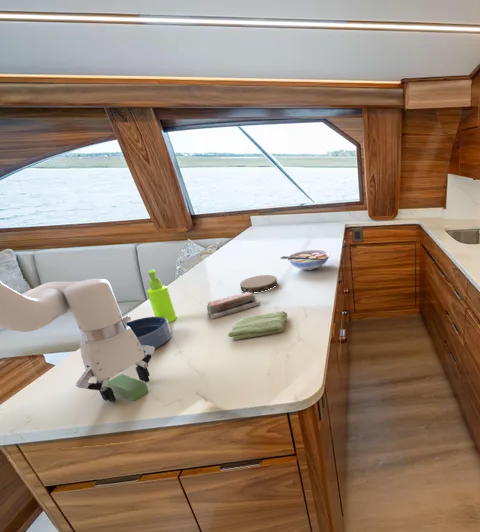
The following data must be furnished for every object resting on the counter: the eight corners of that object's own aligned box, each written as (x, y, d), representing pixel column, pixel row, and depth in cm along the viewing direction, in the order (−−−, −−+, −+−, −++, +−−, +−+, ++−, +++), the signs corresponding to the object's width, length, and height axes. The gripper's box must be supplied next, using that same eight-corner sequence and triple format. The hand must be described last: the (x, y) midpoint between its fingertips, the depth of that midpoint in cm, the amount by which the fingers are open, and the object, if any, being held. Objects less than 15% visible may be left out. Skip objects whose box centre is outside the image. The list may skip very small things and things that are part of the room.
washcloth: (238, 322, 110) (236, 315, 109) (288, 316, 114) (287, 309, 113) (227, 342, 98) (225, 333, 97) (284, 334, 102) (282, 326, 101)
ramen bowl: (339, 262, 175) (338, 249, 172) (321, 276, 154) (319, 261, 151) (301, 260, 181) (299, 247, 178) (278, 273, 160) (276, 259, 157)
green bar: (148, 392, 77) (145, 382, 76) (133, 401, 74) (129, 391, 73) (125, 383, 80) (121, 373, 79) (110, 391, 77) (106, 382, 76)
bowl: (128, 364, 88) (121, 347, 86) (97, 353, 94) (90, 337, 92) (183, 336, 102) (178, 320, 100) (153, 328, 108) (148, 313, 106)
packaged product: (209, 308, 111) (204, 300, 118) (212, 319, 113) (207, 311, 120) (259, 294, 122) (252, 287, 129) (261, 305, 124) (254, 297, 131)
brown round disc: (260, 279, 153) (258, 273, 152) (284, 282, 147) (283, 277, 146) (233, 291, 139) (232, 285, 138) (259, 295, 133) (258, 289, 132)
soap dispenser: (174, 314, 118) (160, 266, 112) (177, 320, 113) (162, 271, 107) (156, 319, 114) (140, 270, 108) (158, 325, 110) (141, 275, 103)
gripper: (136, 311, 80) (155, 366, 86) (45, 346, 65) (76, 410, 71) (154, 315, 77) (172, 372, 83) (63, 353, 62) (94, 419, 68)
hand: (128, 389), depth 77 cm, fingers open, 6 cm apart
